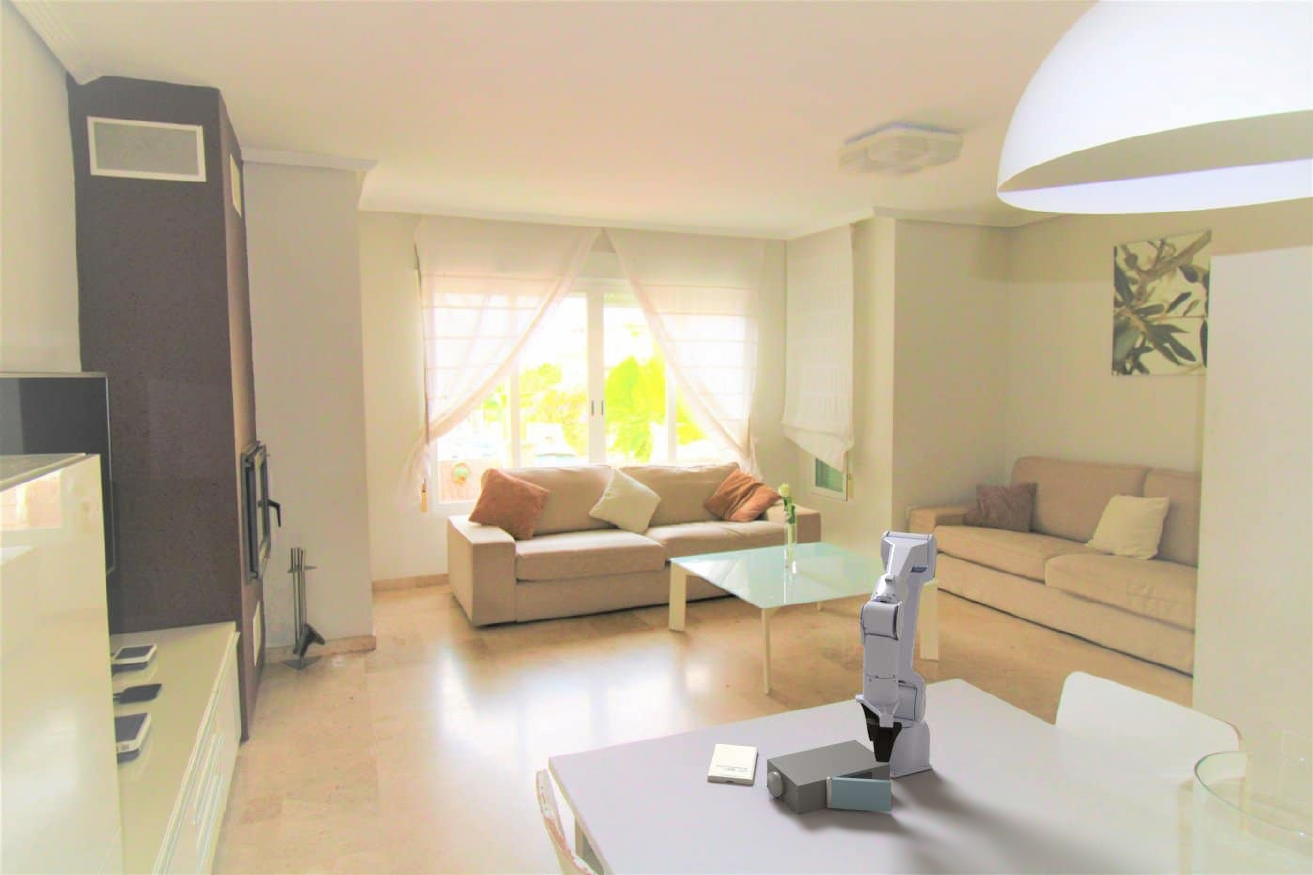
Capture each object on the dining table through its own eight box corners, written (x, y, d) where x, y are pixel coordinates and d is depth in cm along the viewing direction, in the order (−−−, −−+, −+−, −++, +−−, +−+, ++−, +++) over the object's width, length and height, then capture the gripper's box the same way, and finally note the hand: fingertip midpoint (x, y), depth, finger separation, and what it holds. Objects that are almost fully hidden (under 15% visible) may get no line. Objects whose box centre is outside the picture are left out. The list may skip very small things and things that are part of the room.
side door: (889, 808, 133) (890, 780, 133) (890, 811, 132) (891, 783, 132) (826, 804, 135) (826, 776, 134) (826, 807, 134) (827, 779, 133)
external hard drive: (757, 755, 155) (752, 787, 143) (715, 751, 156) (707, 782, 144) (757, 747, 155) (752, 778, 142) (715, 743, 156) (707, 774, 144)
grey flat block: (854, 765, 149) (855, 739, 149) (890, 791, 140) (890, 764, 140) (761, 787, 141) (761, 760, 141) (792, 816, 132) (792, 787, 132)
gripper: (851, 656, 142) (849, 731, 143) (861, 687, 127) (860, 769, 128) (891, 658, 141) (890, 733, 142) (907, 689, 127) (905, 772, 127)
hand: (878, 750), depth 135 cm, fingers open, 7 cm apart
